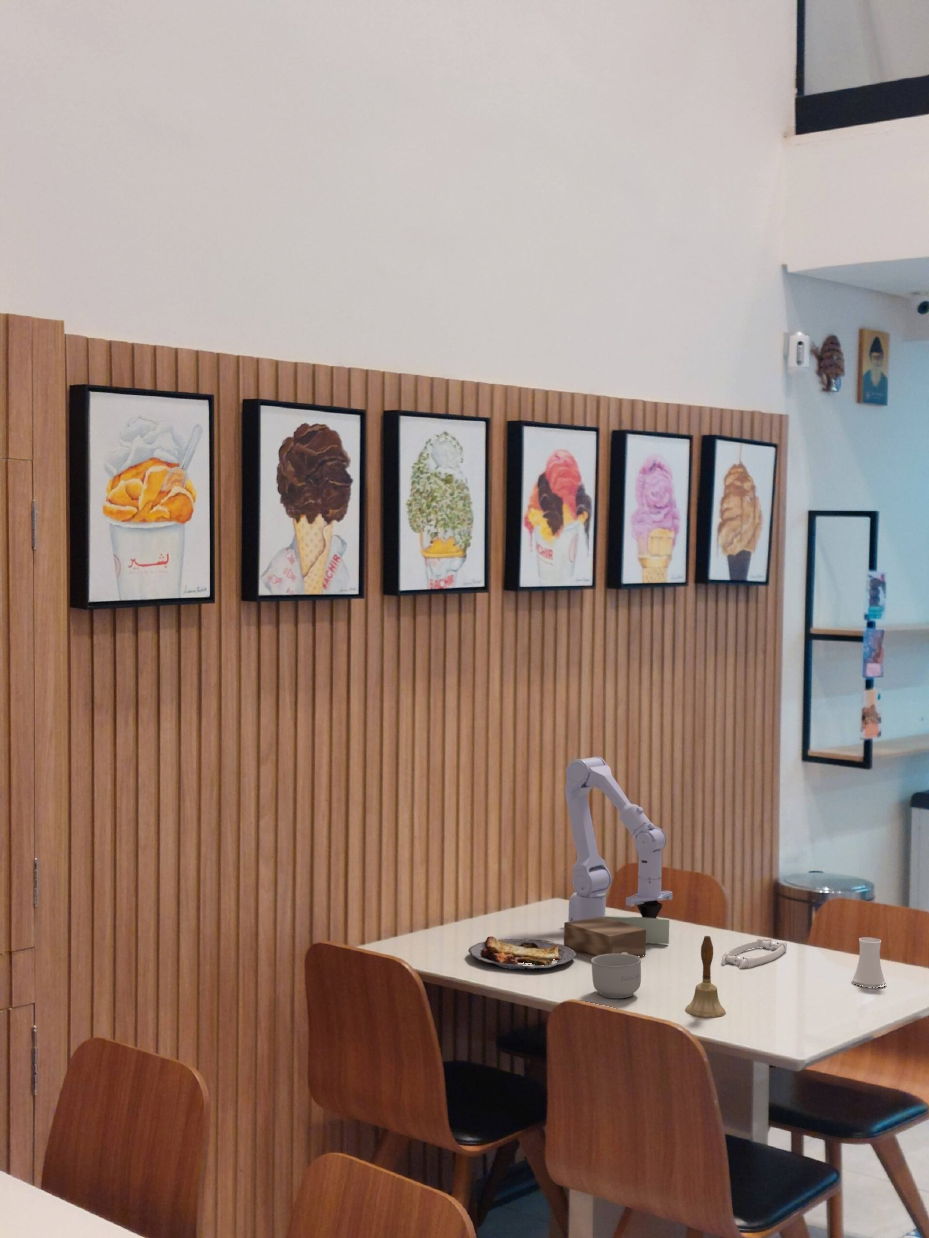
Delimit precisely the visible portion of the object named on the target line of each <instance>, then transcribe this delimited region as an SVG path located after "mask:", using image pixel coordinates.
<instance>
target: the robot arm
mask: <svg viewBox="0 0 929 1238" xmlns="http://www.w3.org/2000/svg"><path fill="white" fill-rule="evenodd" d="M564 771H565V776H566V781H565V787H564V795H565V800H566V805H567V811H568V816H569V822H570V827H571V832H572V838H573V842H574V847H575V853H576V857H577V858H576V859H577V860H576V861H575V862H574V865H573V866H572V872H573V873H572V874H573V875H572V887H573V890H574V891H575V892H573V893H572V894H571V896H570V898H569V899H568V921H567V922H570V921H576V920H582V919H587V918H593V917H599V916H601V917H604V916H605V915H606V900H607V899H606V898H607V896H606V894H608V889H609V888H610V887H611V885H612V882H613V881H612V878H613V877H612V875H611V872H610V870H609V869H608V867H607V863H606V861H605V859H603V857H601V856H600V855H599V851H598V846H597V840H596V835H595V832H594V831H595V830H594V826H593V820H592V813H591V809H590V805H589V800H588V794H589V793H590V791H591V790H592V788H595V789H599V790H601V791H602V793H603V794H604V795H605V796H606V797H607V799H608V800H610V802H611V803H612V804H613V805H614V806H615V807H616V809H617V810H618V811H619V820H620V822H621V823H622V824H623V825H624V827H625V828H626V829H627V831H629V832H628V833H630V835H631V836H632V837H633V838H634V840H633V843H634V847H635V849H636V851H637V858H638V870H637V871H638V873H637V875H638V876H637V877H638V878H637V879H638V880H637V881H638V882H637V885H638V886H637V893H635V894H633V895H631V896H626V897H625V906H627V907H631V908H632V907H634V906H636V907H637V909H638V910H639V913H640V915H641V917H646V918H658V915H659V913H660V911H661V910H662V908H663V904H662V903H660V902H661V901H668V900H669V901H671V900H673V891H670V890H662V869H663V868H662V865H663V864H662V863H663V860H662V859H663V849H664V848H665V847H666V846H667V843H668V841H667V840H668V839H667V836H666V833H665V832H664V830H663V829H662V828H660V827H658V826H655V824H654V823H653V822H651V821H650V819H649V818H648V817H647V816H646V814H645V813H644V811H645V810H644V808H643V807H642V806H639V805H638V804H634V803H631V802H630V800H629V799H628V797H627V796H626V794H625V793H624V791H623V790H622V789H621V787H620V785H619V784H618V782H617V781H616V779H615V778H614V776H613V774H612V770H611V766H609V765H608V764H607V763H606V761H605V760H604V758H603V757H600V756H591V757H588V758H577V759H573V760H572V761H571V762H570V763H569V764H568V766H567V767H566V768H565V770H564ZM659 901H660V902H659Z"/></svg>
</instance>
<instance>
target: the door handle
mask: <svg viewBox="0 0 929 1238" xmlns="http://www.w3.org/2000/svg"><path fill="white" fill-rule="evenodd" d="M787 943H788V942H787V941H786V940H784V941H780V942H776V941H775V942H774V941H772V937H771V938H765V937H763V938H758V939H756V940H754V941H750V942H745V943H744V944H740V945H737V946H735V947H733V948H731V949H729V950H727V952H725V953H723V955H722V956H721V965H722V966H723V967H724V966H726V963H727V964H731V965H733V966H735V965H736V966H738V969H739V970H741V969H749V968H750V967H751V968H754V967H757V966H760V965H763V964H767V963H769V962H772V961H774V960H777V959H778V958H779V957H781V956H782V955H783V954H785V953H786V951H787V949H788V948H787V946H788V944H787ZM757 947H761V948H762V947H763V948H762V949H764V948H765V949H767V950H771V951H772V952H768V953H765V954H763V955H759V956H755V957H752V956H746V957H744V956H743V957H741V956H738V955H740V953H741V952H743V951H746V952H748V951H747V950H748V949H752V948H757ZM761 948H760V949H761ZM743 953H744V952H743ZM737 954H738V955H737ZM741 954H742V953H741ZM735 955H736V956H735ZM751 968H750V969H751Z"/></svg>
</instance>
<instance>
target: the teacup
mask: <svg viewBox="0 0 929 1238" xmlns="http://www.w3.org/2000/svg"><path fill="white" fill-rule="evenodd" d="M590 963H591V975H592V978H591V979H592V983H593V987H594V989H595V990H596V991H597V992H598V993H599V994H600V995H601V996H603V997H604V996H605V997H604V998H610V999H626V998H630V997H632V996H633V995H634V993H636V992H637V991H638V990H639V989H640V987H641V981H642V968H641V967H642V957H637V956H634V955H629V954H628V953H626V952H623V953H621V954H604V955H599V956H596V957H593V958H591V959H590Z"/></svg>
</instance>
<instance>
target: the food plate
mask: <svg viewBox="0 0 929 1238" xmlns="http://www.w3.org/2000/svg"><path fill="white" fill-rule="evenodd" d="M468 953H469V954H470V956H471V957H473V958H474V959H476V960H478V961H483V963H487V964H488V963H491V964H495V965H496V966H498V967H499V968H503V969H508V970H518V969H520V970H525V968H527V969H526V970H532V969H535V968H536V969H537V968H539V970H540V969H549V968H552V967H555V966H557V965H563V964H566V963H568V962H570V961H572V960H573V959H574V958H575V957H576V956H577V953H576V952H574V951H573V950H572V949H571V948H568V947H566V946H564V944H558V943H555V942H553V941H548V940H543V939H528V938H527V939H525V938H523V939H522V938H521V939H519V938H501V939H497V937H495V936H490V935H489V936H488V937H486V940H485V941H480V942H477V943H476V944H474V945H472V946H469V948H468ZM553 959H555V960H558V961H556V962H557V963H556V962H555V963H553V962H554V961H553ZM523 962H524V964H518V963H523ZM525 963H532V964H535V965H534V966H523V965H526V964H525ZM551 963H552V964H551ZM528 965H530V964H528ZM539 965H544V966H539Z"/></svg>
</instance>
